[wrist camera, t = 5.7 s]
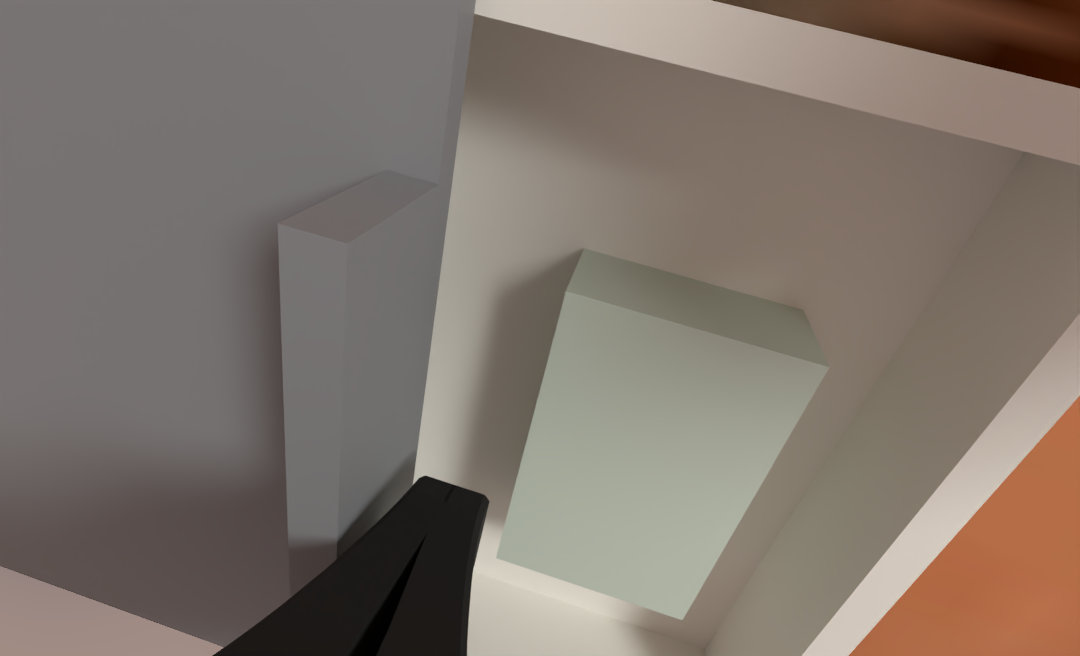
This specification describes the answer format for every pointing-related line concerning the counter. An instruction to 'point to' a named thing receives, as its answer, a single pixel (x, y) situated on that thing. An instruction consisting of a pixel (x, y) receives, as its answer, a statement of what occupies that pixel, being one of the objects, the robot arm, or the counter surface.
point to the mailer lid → (216, 288)
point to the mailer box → (737, 321)
